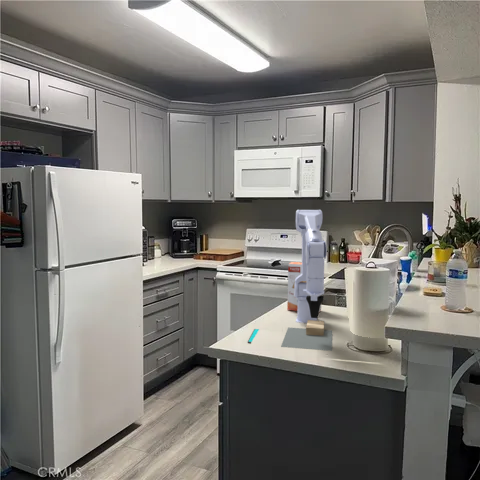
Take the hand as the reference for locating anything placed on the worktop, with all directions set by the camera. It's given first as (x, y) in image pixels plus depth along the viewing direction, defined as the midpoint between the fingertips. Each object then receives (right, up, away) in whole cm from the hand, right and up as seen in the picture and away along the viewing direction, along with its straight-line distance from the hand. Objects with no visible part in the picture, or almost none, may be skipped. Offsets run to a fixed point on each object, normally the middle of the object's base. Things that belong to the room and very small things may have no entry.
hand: (314, 317), depth 140 cm
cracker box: (+3, -5, +42) cm, 42 cm away
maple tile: (+1, -6, +5) cm, 8 cm away
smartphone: (-18, -8, +5) cm, 20 cm away
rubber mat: (-2, -8, +2) cm, 8 cm away
